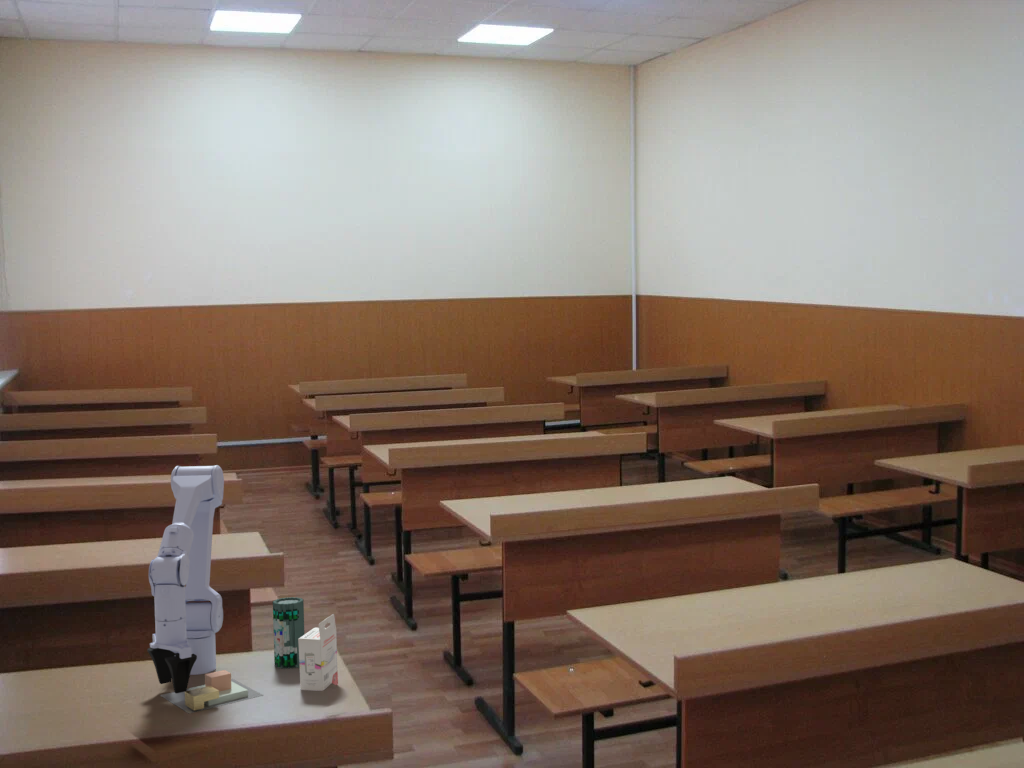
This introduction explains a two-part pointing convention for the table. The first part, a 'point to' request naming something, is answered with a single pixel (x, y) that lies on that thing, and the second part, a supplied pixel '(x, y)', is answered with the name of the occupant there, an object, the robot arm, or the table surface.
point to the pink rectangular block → (223, 687)
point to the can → (287, 631)
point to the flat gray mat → (179, 701)
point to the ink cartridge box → (318, 657)
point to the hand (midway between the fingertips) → (172, 687)
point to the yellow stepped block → (200, 697)
